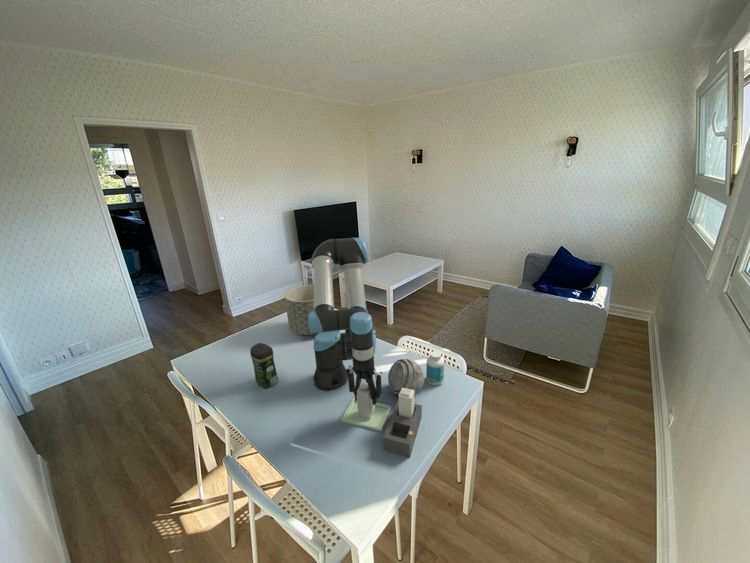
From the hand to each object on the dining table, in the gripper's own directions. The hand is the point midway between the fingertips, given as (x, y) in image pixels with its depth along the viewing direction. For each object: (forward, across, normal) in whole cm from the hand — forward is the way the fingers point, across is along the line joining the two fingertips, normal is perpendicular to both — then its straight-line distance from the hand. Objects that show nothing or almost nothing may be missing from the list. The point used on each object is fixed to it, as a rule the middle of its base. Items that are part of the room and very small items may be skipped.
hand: (366, 408), depth 115 cm
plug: (+3, 0, 0) cm, 3 cm away
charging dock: (+3, +16, -4) cm, 16 cm away
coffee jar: (+4, -50, +5) cm, 50 cm away
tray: (+3, 0, 0) cm, 3 cm away
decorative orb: (+3, +11, +17) cm, 21 cm away
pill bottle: (+3, +21, +28) cm, 35 cm away
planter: (+3, -56, +53) cm, 77 cm away
